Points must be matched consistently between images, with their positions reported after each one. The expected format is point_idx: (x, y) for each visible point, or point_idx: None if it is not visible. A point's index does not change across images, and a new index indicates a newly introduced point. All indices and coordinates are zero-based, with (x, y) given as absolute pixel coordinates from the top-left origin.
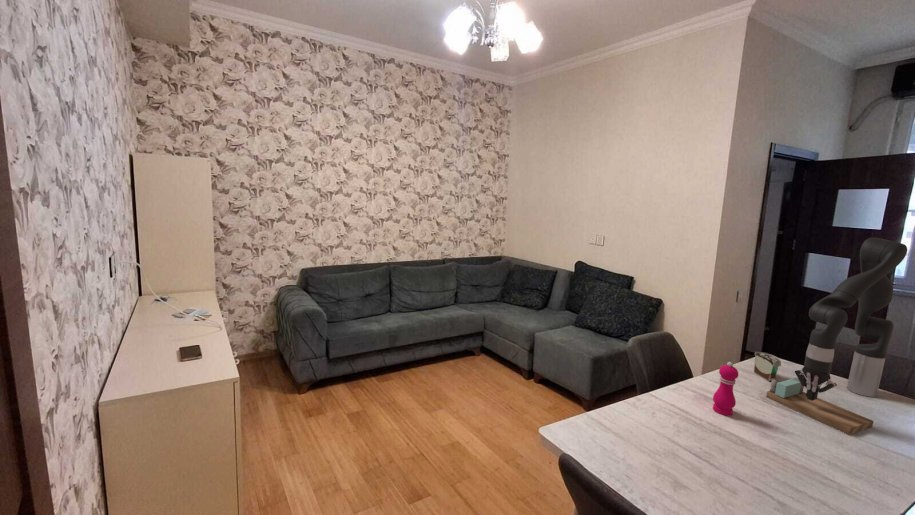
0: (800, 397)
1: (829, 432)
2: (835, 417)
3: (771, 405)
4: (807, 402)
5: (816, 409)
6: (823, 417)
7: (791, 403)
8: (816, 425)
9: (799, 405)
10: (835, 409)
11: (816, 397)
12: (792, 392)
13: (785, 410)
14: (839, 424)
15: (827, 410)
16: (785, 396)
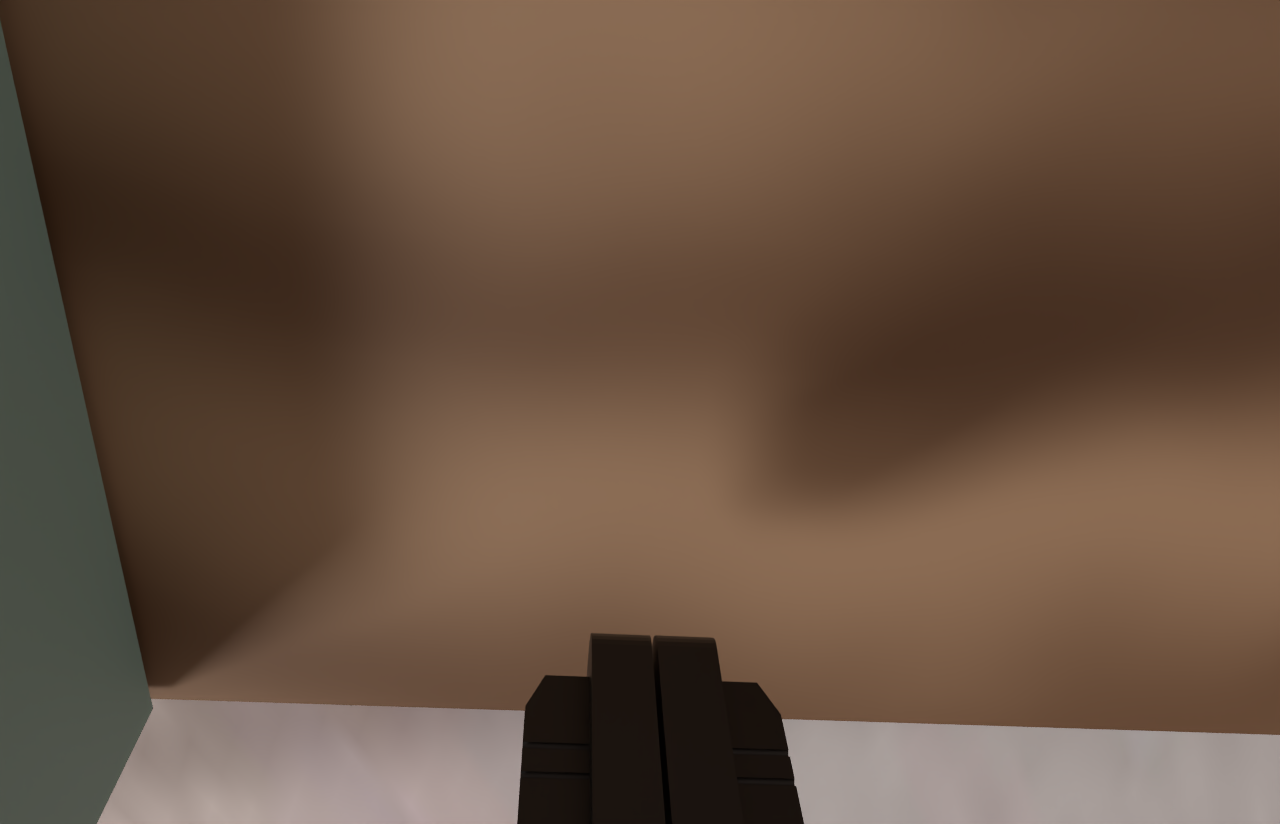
0: (204, 192)
1: (1120, 820)
2: (1169, 533)
3: (182, 807)
4: (480, 339)
5: (784, 537)
6: (993, 715)
7: (352, 684)
8: (924, 790)
9: (506, 692)
10: (1071, 19)
11: (782, 770)
12: (31, 432)
13: (400, 762)
14: (1269, 723)
15: (952, 328)
16: (129, 683)
